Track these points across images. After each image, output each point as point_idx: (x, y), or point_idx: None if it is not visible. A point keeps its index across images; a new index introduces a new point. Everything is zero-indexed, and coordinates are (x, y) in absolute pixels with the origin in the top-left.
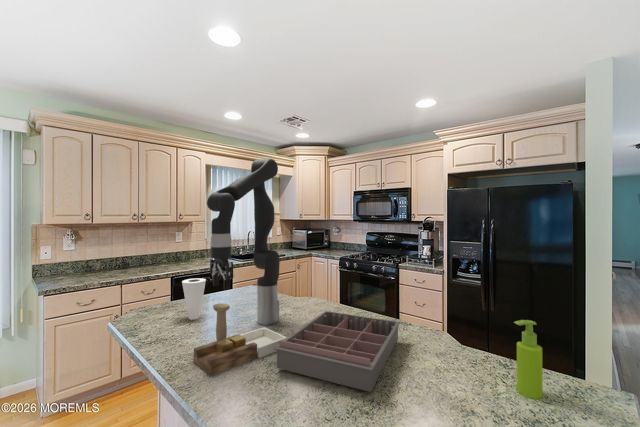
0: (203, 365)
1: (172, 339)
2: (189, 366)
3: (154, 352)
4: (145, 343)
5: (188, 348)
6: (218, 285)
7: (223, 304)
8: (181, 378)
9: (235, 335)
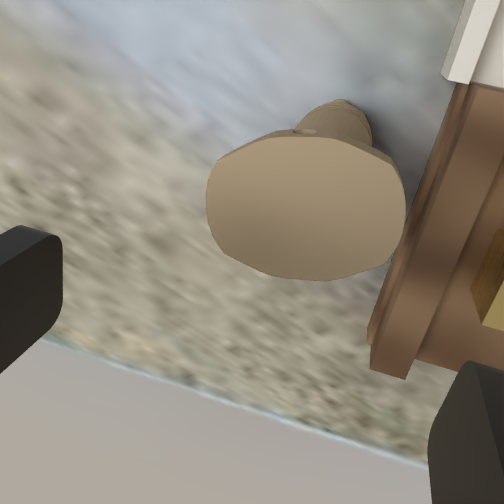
0: None
1: (62, 217)
2: None
3: (141, 335)
4: None
5: None
6: (60, 240)
7: (288, 172)
8: None
9: (471, 122)
